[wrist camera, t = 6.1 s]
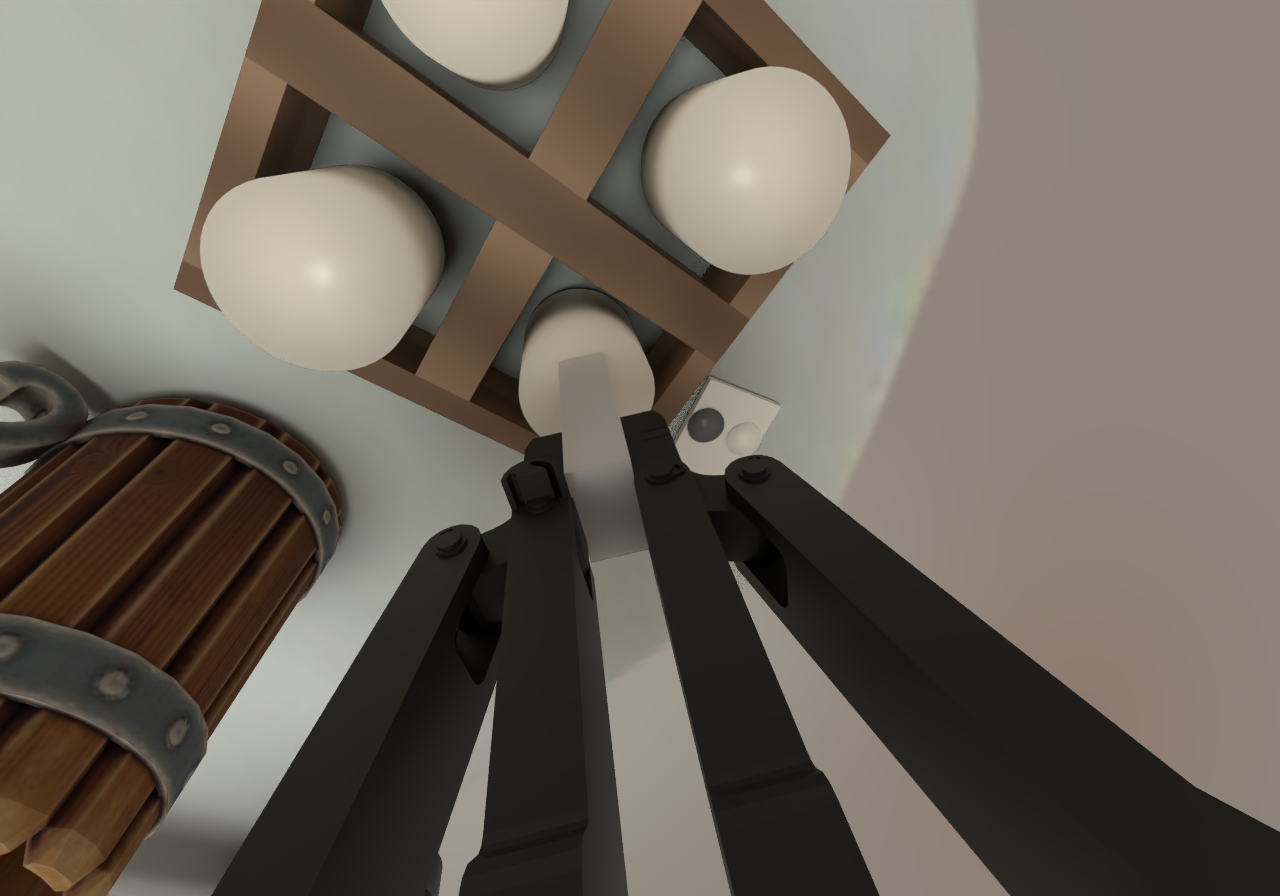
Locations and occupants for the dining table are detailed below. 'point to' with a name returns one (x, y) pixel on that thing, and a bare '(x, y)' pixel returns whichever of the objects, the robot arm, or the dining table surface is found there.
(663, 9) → the wooden compartment tray
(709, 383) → the card
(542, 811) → the robot arm
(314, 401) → the dining table surface
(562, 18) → the button
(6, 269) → the dining table surface
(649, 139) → the button
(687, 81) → the dining table surface
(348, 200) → the button
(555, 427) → the button
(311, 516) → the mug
